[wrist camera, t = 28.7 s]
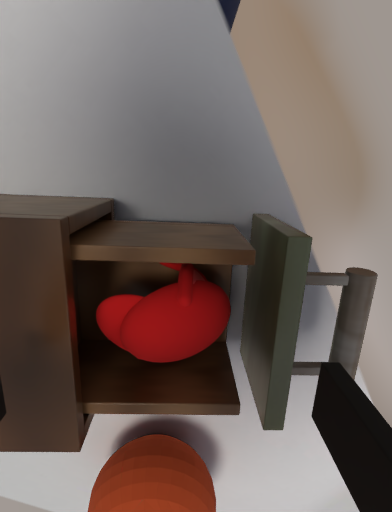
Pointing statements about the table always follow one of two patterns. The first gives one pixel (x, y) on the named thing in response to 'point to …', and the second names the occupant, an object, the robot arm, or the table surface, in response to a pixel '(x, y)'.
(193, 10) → the table surface
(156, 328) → the cap
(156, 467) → the tomato
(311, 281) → the drawer
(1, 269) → the cabinet
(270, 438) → the table surface
